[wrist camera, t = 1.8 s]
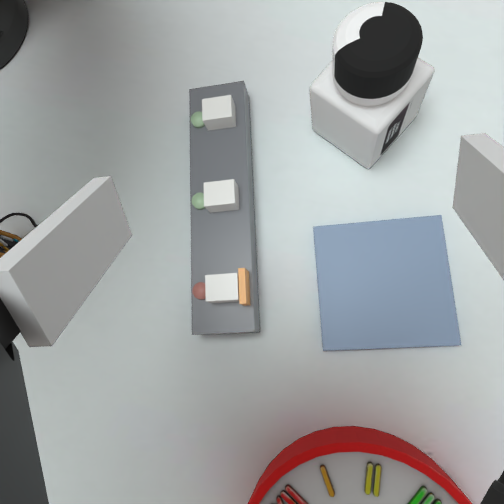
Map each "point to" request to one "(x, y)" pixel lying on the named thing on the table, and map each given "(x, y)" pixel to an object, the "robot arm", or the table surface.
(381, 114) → the container
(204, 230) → the breaker panel
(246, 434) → the table surface
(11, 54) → the robot arm
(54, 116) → the table surface
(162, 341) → the table surface
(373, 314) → the pad
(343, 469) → the toy clock
